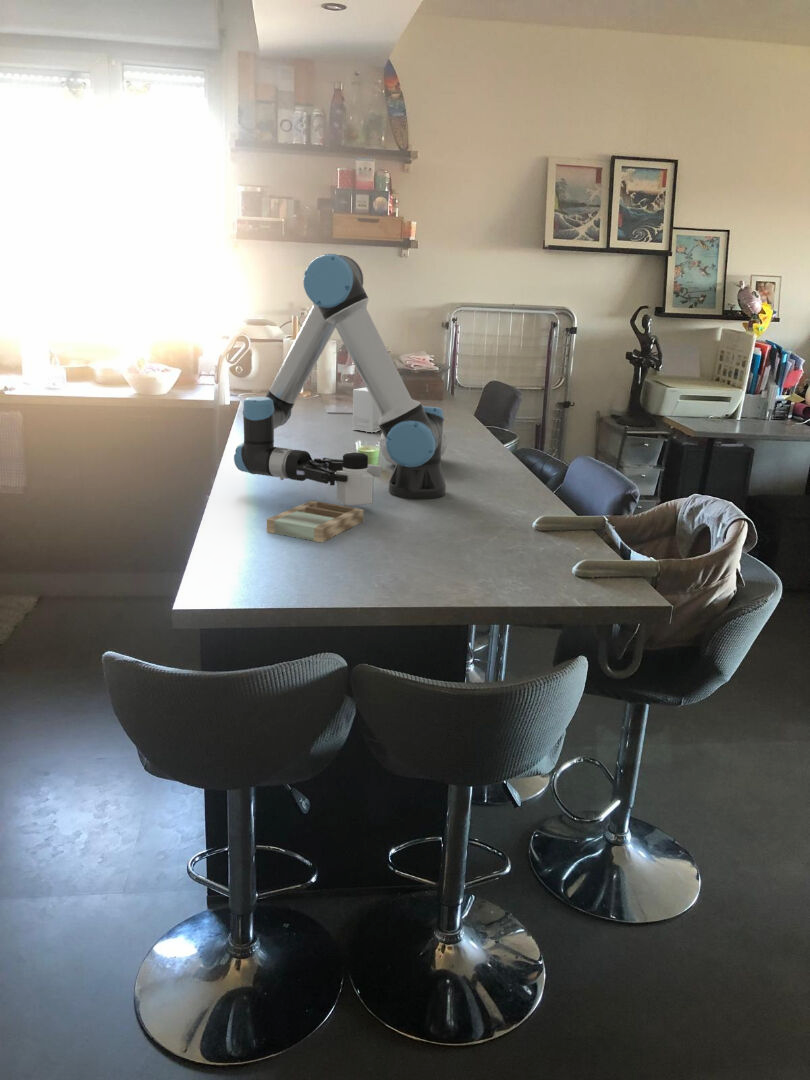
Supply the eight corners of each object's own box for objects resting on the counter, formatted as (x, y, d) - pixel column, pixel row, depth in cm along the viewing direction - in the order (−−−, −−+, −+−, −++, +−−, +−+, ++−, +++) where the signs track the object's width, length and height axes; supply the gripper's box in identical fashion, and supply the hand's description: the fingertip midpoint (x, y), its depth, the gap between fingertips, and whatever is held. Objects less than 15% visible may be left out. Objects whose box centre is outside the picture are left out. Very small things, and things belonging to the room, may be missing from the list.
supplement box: (386, 430, 317) (387, 389, 312) (372, 433, 309) (373, 391, 305) (365, 427, 321) (366, 386, 317) (351, 430, 314) (352, 388, 309)
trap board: (311, 512, 208) (311, 500, 207) (363, 521, 202) (363, 509, 201) (266, 532, 191) (266, 519, 190) (321, 542, 186) (322, 529, 185)
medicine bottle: (373, 504, 210) (374, 455, 207) (345, 506, 208) (345, 457, 204) (363, 497, 217) (364, 449, 213) (336, 498, 214) (336, 451, 211)
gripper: (314, 470, 228) (390, 481, 219) (266, 488, 209) (348, 501, 200) (314, 442, 226) (391, 452, 217) (266, 457, 206) (349, 469, 198)
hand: (371, 475), depth 209 cm, fingers closed on medicine bottle, 10 cm apart
